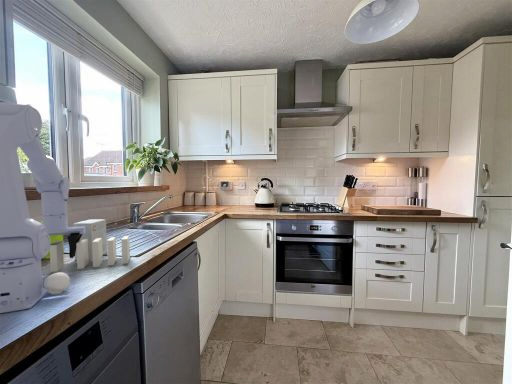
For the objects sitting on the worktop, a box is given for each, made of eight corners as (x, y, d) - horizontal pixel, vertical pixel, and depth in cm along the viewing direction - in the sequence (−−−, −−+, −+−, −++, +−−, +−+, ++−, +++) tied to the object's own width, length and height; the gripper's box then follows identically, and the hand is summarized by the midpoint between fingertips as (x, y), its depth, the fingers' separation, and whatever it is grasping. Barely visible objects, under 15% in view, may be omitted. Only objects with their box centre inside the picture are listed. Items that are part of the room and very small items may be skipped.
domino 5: (127, 263, 75) (127, 239, 75) (122, 263, 75) (121, 239, 74) (129, 258, 80) (129, 235, 79) (124, 259, 79) (123, 236, 79)
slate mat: (127, 266, 74) (127, 265, 74) (30, 278, 65) (30, 276, 65) (131, 257, 82) (131, 256, 82) (46, 267, 73) (46, 265, 73)
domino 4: (113, 264, 74) (112, 240, 74) (107, 265, 73) (107, 240, 73) (116, 260, 78) (115, 236, 78) (111, 260, 78) (110, 237, 77)
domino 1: (57, 271, 69) (56, 243, 68) (50, 272, 68) (49, 244, 68) (63, 265, 73) (62, 240, 73) (57, 266, 72) (56, 240, 72)
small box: (91, 253, 87) (89, 219, 86) (107, 253, 87) (106, 219, 86) (74, 260, 79) (72, 223, 78) (92, 260, 79) (90, 223, 78)
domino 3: (99, 266, 73) (98, 241, 72) (93, 267, 72) (92, 241, 72) (102, 261, 77) (101, 238, 76) (97, 262, 76) (96, 238, 76)
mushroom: (39, 294, 55) (39, 274, 55) (64, 286, 59) (64, 267, 59) (49, 300, 53) (49, 278, 53) (73, 291, 57) (74, 272, 57)
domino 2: (83, 268, 71) (82, 242, 71) (77, 269, 71) (76, 243, 70) (88, 263, 75) (87, 239, 75) (82, 263, 75) (81, 239, 74)
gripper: (87, 211, 76) (89, 252, 77) (31, 213, 71) (33, 257, 72) (80, 214, 70) (82, 258, 70) (17, 217, 64) (20, 265, 65)
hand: (57, 258), depth 70 cm, fingers open, 7 cm apart
